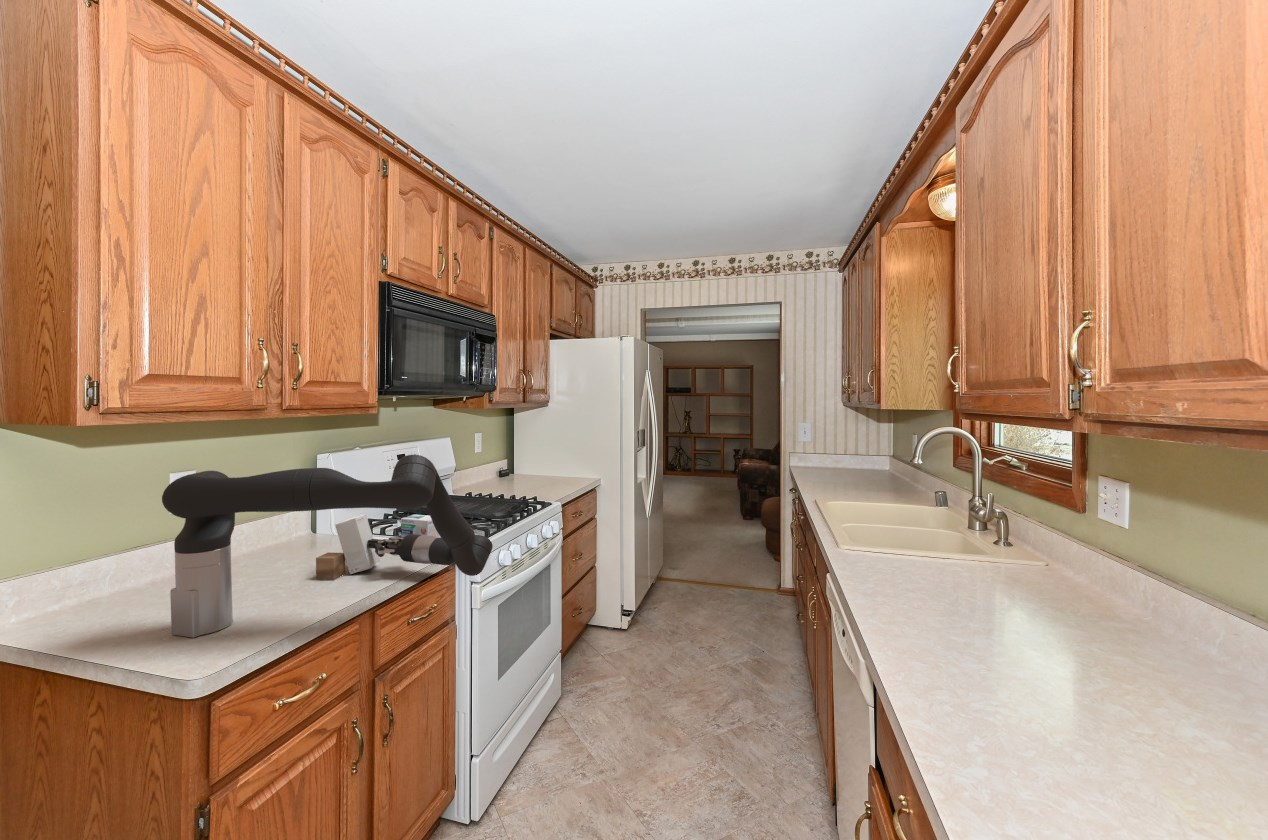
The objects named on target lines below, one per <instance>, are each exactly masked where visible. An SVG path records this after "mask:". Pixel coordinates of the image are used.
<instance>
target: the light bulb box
mask: <svg viewBox="0 0 1268 840" xmlns="http://www.w3.org/2000/svg"><path fill="white" fill-rule="evenodd" d="M408 534H418V535H427V536H434V537H438V538H441V537H440V535H439V534H438V532H437V531H436V529H435V527H434V524H433V522H432V519H431V517H430V515H425V514H415V513H414V514H411V515H408V516H404V517H401V518H400V537H405V536H406V535H408Z"/></svg>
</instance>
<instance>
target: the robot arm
mask: <svg viewBox="0 0 1268 840" xmlns="http://www.w3.org/2000/svg"><path fill="white" fill-rule="evenodd" d="M161 503H162V505H163V507H164V509H165V510H166V511H167V512H168V513H170V514H171V515H173V516H176V517H178V518H181V519H185V520H184V525H183V527H182V529H181V531H179V533H178V534H177V535H176V537H175V538H174V542H173V543H174V549H173V550H174V572H175V573H174V574H175V575H174V576H175V579H174V581H175V582H174V583H175V587H173V588H171V589H170V592H169V596H170V627H171V628H170V629H171V635H174V636H180V637H187V638H196V637H199V636H203V635H207V634H212V633H216V632H218V631H220V630H224V629H225V628H227V627H229V626H231V624H232V623H233V621H234V619H233V617H234V616H233V614H234V613H233V583H232V581H233V579H232V544H231V543H232V535H233V533H234V530H235V525H236V524H235V523H236V514H237V513H252V512H254V513H255V512H256V513H280V512H282V513H283V512H284V513H285V512H286V513H287V512H310V511H323V510H324V511H325V510H336V509H337V510H338V509H342V510H343V509H364V508H365V509H391V510H392V509H393V510H395V509H396V510H397V509H399V510H400V509H402V510H405V509H406V510H407V509H408V510H410V509H417V508H422V507H424V506H425V507H426V509H427V511H428V514H429V516H430V517H431V519H432V522H433V524H434V527H435V529H436V531H437V532H438V534H439V535H440V537H441V538H438V537H434V536H427V535H418V534H408V535H406V536H405V537H401V536H395V537H388V538H384V539H378V538H377V539H376V538H373V539H371V540H368V541H367V546H368V548H374V549H375V553H376V554H377V555H378V556H379V558H382V557H384V556H386V554H389V555H392V556H398V557H400V558H399V559H401V560H402V561H403V562H407V563H417V564H423V565H442V566H451V565H454V564H455V565H456V567H457V568H458V570H459V571H460V572H461V573H463V574H464V575H465V576H471V577H475V576H478V575H480V574H481V573H482V572H483V570H484V568H485V567H486V565H487V561H488V560H489V557H490V555H491V553H492V551H493V542H492V541H491V540H490V538H488V537H487V536H485V535H481V534H476V533H475V531H474V529H473V527H472V526H471V525H470V523H468V521H467V520H466V519H465V517H464V516H463V515H462V513H461V512H460V511H459V509H458V508H457V506H456V505H455V503H454V502H453V499H452V498H451V496H450V494H449V493H448V491H447V489H446V487H445V485H444V483H443V481H442V479H441V477H440V475H439V473H438V471H437V468H436V466H435V464H434V463H433V462H432V461H431V460H430V459H429V458H428V457H425V456H423V455H419V454H408V455H404V456H402V457H401V458H400V459H398V461H397V462H396V463H395V465H394V468H393V472H392V475H391V480H388V481H363V480H360V479H359V480H358V479H356V478H354V477H352V476H349V475H347V474H345V473H343V472H341V471H339V470H335V469H333V468H328V467H309V468H306V467H305V468H294V469H292V468H291V469H285V470H278V471H271V472H266V473H261V474H260V473H259V474H255V475H250V476H249V475H248V476H240V477H238V476H237V477H229V476H228V475H227V474H225V473H223V472H220V471H218V470H204V471H200V472H195V473H191V474H186V475H183V476H180V477H178V478H176V479H175V480H173V481H172V482H171V483H169V484H168V485H167V486H166V487H165V489H164V490H163V493H162V495H161Z"/></svg>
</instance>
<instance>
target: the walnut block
mask: <svg viewBox="0 0 1268 840" xmlns="http://www.w3.org/2000/svg"><path fill="white" fill-rule="evenodd" d="M344 574H345V575H346V560H345V556H344V553H343V552H326V553H323V554H322V555H319V556H317V557H315V580H316V579H326V580H325V581H335V580H337V579H339V578H341V577H343V576H345V575H344ZM342 575H343V576H342ZM340 576H341V577H340Z"/></svg>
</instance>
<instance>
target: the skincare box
mask: <svg viewBox="0 0 1268 840" xmlns="http://www.w3.org/2000/svg"><path fill="white" fill-rule="evenodd" d="M334 527H335V529H336V533H337V535H338V540H339V543H340V546H341V550H342V553H344V556H345V564H346V565H347V566H346V567H347V569H348V573H349V574H350V575H352V574H355V573H359V572H363V571H368V570H370V569H372V568H373V567H374V566H375V565H377V564H378V563H379V562H380V557H379V556H378V555H377V554H376V553H375V549H374V548H368V546H367V541H368V540H371V539H374V536H373V533H372V529H371V526H370V523H369V520H368V516H367V514H366V513H363V514H359V515H357V516H354V517H349V518H346V519H344V520H341V521H340V522H337V523H335V524H334Z"/></svg>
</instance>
